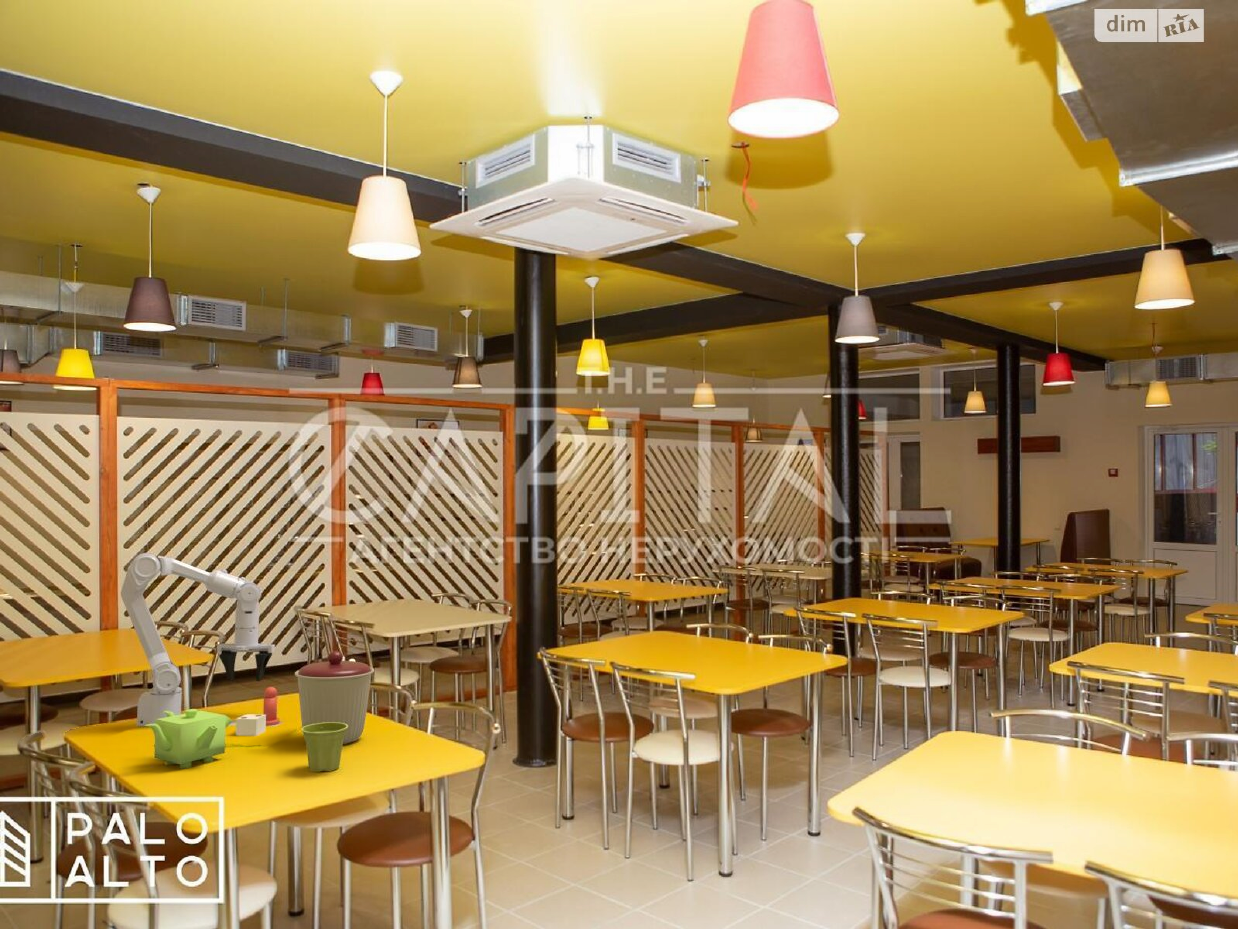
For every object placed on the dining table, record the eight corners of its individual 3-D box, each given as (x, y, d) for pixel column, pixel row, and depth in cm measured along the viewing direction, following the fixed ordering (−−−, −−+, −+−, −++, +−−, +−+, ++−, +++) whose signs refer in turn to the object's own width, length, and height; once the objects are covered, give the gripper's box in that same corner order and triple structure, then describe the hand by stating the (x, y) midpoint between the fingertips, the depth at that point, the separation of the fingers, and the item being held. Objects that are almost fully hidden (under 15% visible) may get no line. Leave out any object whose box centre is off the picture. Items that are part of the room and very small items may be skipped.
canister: (359, 728, 227) (361, 644, 229) (382, 744, 212) (384, 653, 213) (285, 737, 218) (287, 649, 219) (303, 754, 202) (305, 659, 204)
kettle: (143, 773, 187) (144, 718, 188) (158, 756, 201) (159, 705, 201) (221, 768, 191) (222, 714, 192) (231, 751, 205) (232, 701, 205)
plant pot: (324, 777, 185) (325, 734, 186) (290, 771, 190) (291, 729, 190) (356, 766, 194) (357, 725, 194) (323, 760, 198) (324, 720, 198)
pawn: (256, 725, 226) (257, 688, 226) (265, 721, 230) (266, 685, 231) (274, 725, 225) (275, 689, 226) (282, 721, 230) (283, 685, 231)
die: (235, 740, 216) (236, 718, 216) (245, 735, 221) (246, 714, 221) (256, 740, 215) (256, 719, 216) (265, 735, 220) (266, 714, 221)
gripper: (212, 629, 233) (210, 682, 233) (267, 630, 233) (265, 683, 232) (225, 626, 240) (223, 677, 240) (278, 626, 240) (277, 678, 239)
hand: (245, 680), depth 236 cm, fingers open, 7 cm apart
